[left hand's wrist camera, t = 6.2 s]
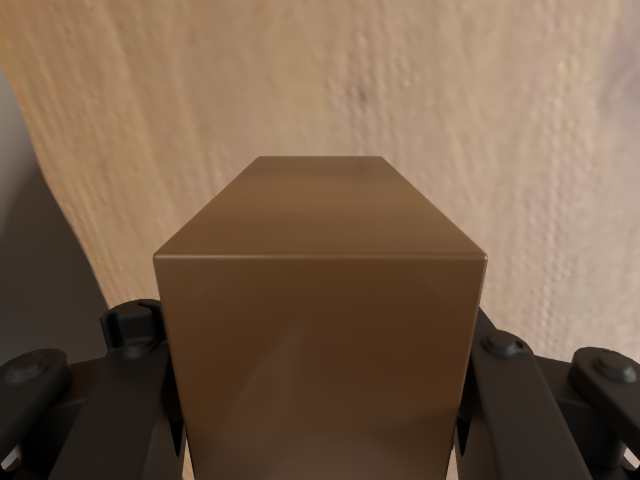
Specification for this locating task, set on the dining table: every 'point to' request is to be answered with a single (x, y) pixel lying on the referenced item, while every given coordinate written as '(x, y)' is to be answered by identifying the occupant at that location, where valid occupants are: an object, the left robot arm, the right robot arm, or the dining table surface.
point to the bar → (320, 324)
